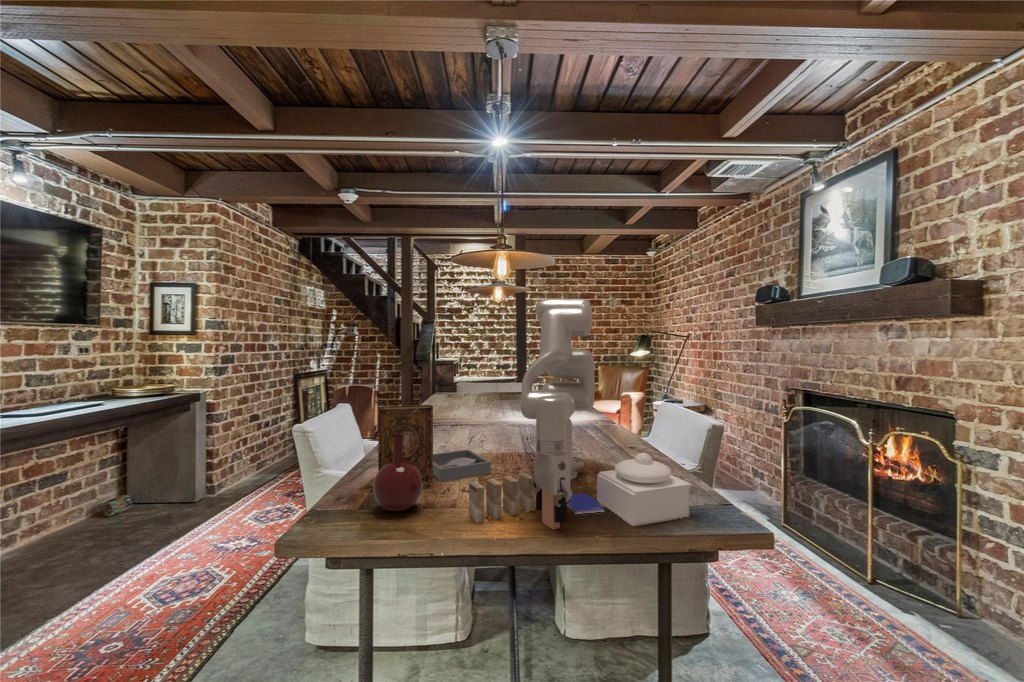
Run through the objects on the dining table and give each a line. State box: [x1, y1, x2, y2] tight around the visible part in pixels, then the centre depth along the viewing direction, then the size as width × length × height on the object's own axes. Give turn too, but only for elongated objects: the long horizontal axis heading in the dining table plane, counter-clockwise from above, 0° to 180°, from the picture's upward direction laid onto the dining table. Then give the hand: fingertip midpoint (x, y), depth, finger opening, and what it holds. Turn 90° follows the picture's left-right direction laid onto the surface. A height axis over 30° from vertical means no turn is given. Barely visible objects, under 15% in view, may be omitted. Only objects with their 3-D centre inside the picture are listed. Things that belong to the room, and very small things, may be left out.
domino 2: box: [485, 478, 503, 521], centre depth 122 cm, size 2×5×9 cm, turn 29°
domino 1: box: [468, 481, 485, 525], centre depth 119 cm, size 2×5×9 cm, turn 29°
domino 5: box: [541, 489, 561, 530], centre depth 116 cm, size 2×5×9 cm, turn 29°
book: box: [377, 404, 434, 489], centre depth 144 cm, size 16×6×25 cm, turn 102°
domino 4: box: [518, 472, 535, 513], centre depth 126 cm, size 2×5×9 cm, turn 29°
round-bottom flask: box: [372, 435, 424, 512], centre depth 126 cm, size 13×13×20 cm
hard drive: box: [560, 493, 605, 515], centre depth 129 cm, size 2×8×12 cm
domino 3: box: [502, 475, 519, 517], centre depth 124 cm, size 2×5×9 cm, turn 28°
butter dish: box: [596, 452, 693, 527], centre depth 126 cm, size 18×18×16 cm
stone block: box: [442, 458, 477, 468], centre depth 161 cm, size 12×5×10 cm
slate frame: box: [433, 449, 492, 483], centre depth 161 cm, size 18×19×4 cm
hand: (550, 514), depth 116 cm, fingers open, 7 cm apart
